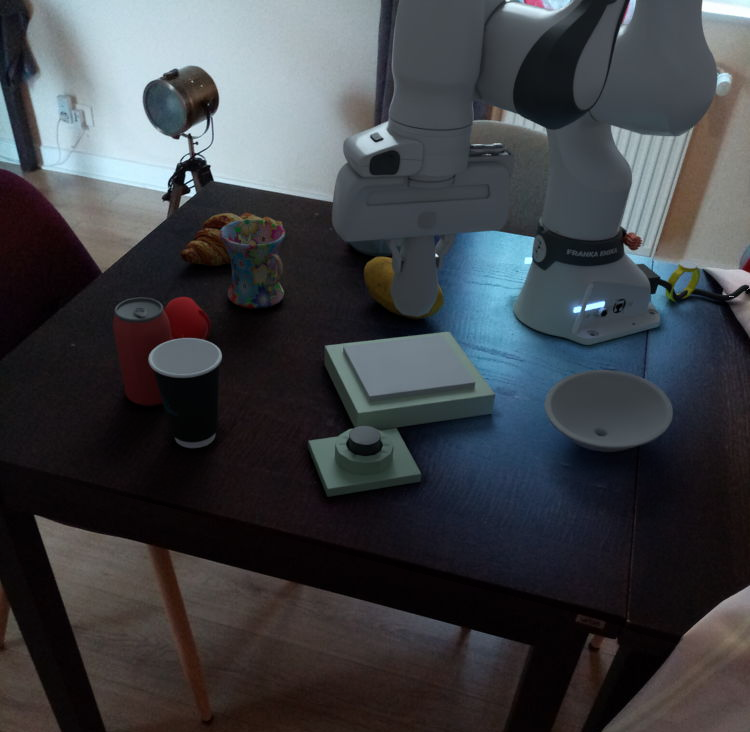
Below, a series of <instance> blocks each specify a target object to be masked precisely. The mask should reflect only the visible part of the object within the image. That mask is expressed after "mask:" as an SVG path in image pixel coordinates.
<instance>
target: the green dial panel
mask: <svg viewBox="0 0 750 732" xmlns="http://www.w3.org/2000/svg"><path fill="white" fill-rule="evenodd" d="M352 429H353V428H348V429H347V430H346V431H344V432H342V433H340V434H339V435H338V436H332V437H325V438H318V439H317V438H316V439H311V440H308V443H307V449H308V451H309V454H310V456H311V459H312V461H313V464H314V466H315V469H316V472H317V474H318V477H319V479H320V482H321V485H322V487H323V490H324V492H325V495H326V497H328V498H329V497H334V496H336V497H337V496H342V495H347V494H354V493H360V492H365V491H372V490H378V489H385V488H390V487H391V488H392V487H397V486H402V485H408V484H409V485H410V484H415V483H420V482H421V480H422V473H421V470H420V469H419V467H418V465H417V463H416V461H415V460H414V457H413V455H412V454H411V452H410V450H409V448H408V447H407V445H406V442H405V441H404V439H403V437H402V436H401V434H400V431H399V430H398V427H396V428H389V429H382V430H378V431H379V432H380V434H381V441H380V450H379V452H378V453H377V454H375V455H371V456H361V455H355V454H354V453H352V452H351V451H350V450H349V433H350V431H351V430H352Z"/></svg>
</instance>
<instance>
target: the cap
mask: <svg viewBox="0 0 750 732" xmlns="http://www.w3.org/2000/svg"><path fill="white" fill-rule="evenodd" d="M163 310H164V311H165V313H166V315H167V317H168V319H169V322H170V328H171V335H172V340H174V339H181V338H196V339H202V340H206V341H207V338H208V337H209V336H210V330H211V320H210V317H209V315H208V314H207V313H206V312H205V311H204V310H203V309H202V308H201V307H200V306H199V305H198V304H197V303H196V301H195V300H194V299H193V298H191V297H189V296H179V297H175V298H173V299H171V300H170V301H169V302H168V303H167V304H166V306H165V307H163Z"/></svg>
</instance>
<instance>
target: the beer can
mask: <svg viewBox="0 0 750 732" xmlns="http://www.w3.org/2000/svg"><path fill="white" fill-rule="evenodd" d="M113 312H114V316H113V321H112V330H113V335H114V341H115V346H116V350H117V356H118V361H119V367H120V371H121V377H122V382H123V386H124V392H125V396H126V397H127V399H128V400H129V401H131V402H132V403H134V404H135V405H138V406H142V407H156V406H161V405H163V402H162V398H161V395H160V391H159V388H158V384H157V381H156V377H155V374H154V371H153V369H152V368H151V366H150V364H149V361H148V359H149V355H150V353H151V351H152V350H153V349H154V348H156V347H157V346H158V345H160V344H162V343H164V342H167V341H170V340H172V335H171V328H170V322H169V319H168V317H167V315H166V313H165V311H164V305H163V304H162V302H160V301H159V300H156V299H154V298H150V297H132V298H128V299H125V300H123V301H120V302H119V303H118V304H117V305H116V306H115V308H114V311H113Z"/></svg>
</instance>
